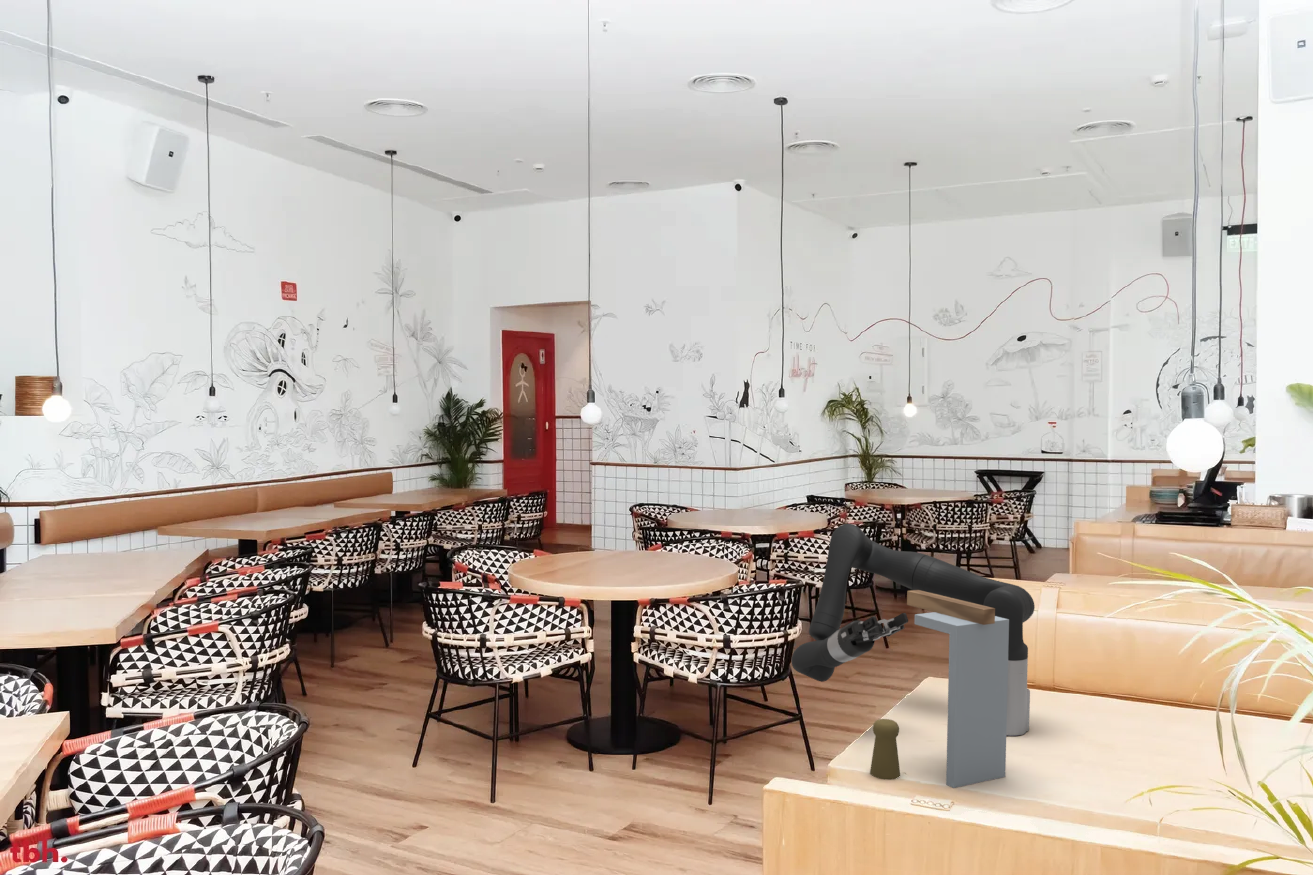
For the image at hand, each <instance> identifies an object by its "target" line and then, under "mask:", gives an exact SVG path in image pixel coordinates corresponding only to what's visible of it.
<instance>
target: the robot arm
mask: <svg viewBox="0 0 1313 875" xmlns="http://www.w3.org/2000/svg"><path fill="white" fill-rule="evenodd" d="M851 568H852V569H856V570H858V571H859V570H860V571H863V572H868V573H870V574H871V573H872V574H873V575H874V574H875V575H879V576H880V577H881V576H882V577H884V578H886V579H887V580H890V581H893V582H894V583H896V584H899V585H900V586H903V587H906V588H908V589H910V590H911V591H912V590H921V591H925V592H929V593H933V594H937V595H941V596H946V597H950V598H954V599H958V600H962V601H966V602H971V603H975V604H979V605H983V606H987V607H991V608H995V616H997V617H1001V618H1005V619H1009V644H1008V686H1007V728H1006V736H1009V737H1010V736H1011V737H1012V736H1022V735H1024V734H1026V733H1027V732H1028V731H1030V715H1031V714H1030V708H1031V706H1030V704H1031V703H1030V702H1031V690H1030V689H1029V688H1028V665H1029V664H1028V661H1029V660H1028V658H1029V647H1028V645H1027V644H1026V643H1025V642H1024V634H1023V633H1024V630H1023V628H1024V623H1025V622H1027V621H1028V620H1029V619H1030V618H1031V617H1032V616H1033V614H1034V612H1035V601H1034V599H1033V597H1032V595H1031V594H1030V593H1029V592H1028V591H1027V590H1026V589H1025V588H1023V587H1022V586H1019V585H1016V584H1013V583H1007V582H1004V581H1000V580H995V579H992V578H987V577H984V576H982V575H979V574H976V573H974V572H971V571H969V570H967V569H964V568H961V567H960V566H958V565H954V564H952V563H949V562H946V561H944V560H941V559H939V558H937V557H934V556H931V555H928V554H926V553H925V554H924V553H921V552H916V551H905V550H904V551H903V550H895V549H893V548H889V547H887V546H884V545H882V544H881V543H877V542H876V541H874V540H872V539H870V537H868V535H866V534H865V532H864V531H863V530H862V529H861V528H860V527H858V526H857V525H856V524H852V523H843V524H841V525H839V526H838V527H837V528H836V529H834V531H833V533H832V534H831V536H830V541H829V546H828V552H827V559H826V565H825V569H824V570H825V571H824V576H823V580H822V585H821V590H820V592H819V596H818V599H817V600H818V601H817V602H816V606H815V609H814V613H813V616H812V618H811V622H810V624H809V629H808V633H809V635H810V636H809V637H812V639H814V640H813V641H808V642H805V643H803V644H801V645H799V646H797V647H796V649H794V651H793V653H792V655H791V658H790V659H791V666H792V668H793V669H794V670H795V672H797V673H800V674H801V675H804V676H806V677H808V678H811V679H812V680H816V681H818V682H822V683H823V682H827V681H828V680H829V679H830V678H831V677H832V676H833V674H834V671H835V668H837V667H839V666H841V665H843V664H845V663H847V662H850V661H852V660H855V659H857V658H859V657H861V656H862V655H864V654H866V653H867V652H869V651H871V650H872V649H873V647H874V645H875V642H876V641H877V640H879V639H881V638H883V637H891V636H893V635H894V634H896V633H898V632H901V631H902V630H904V629H905V628H906V627H905V625H906V624H907V623H909V618H908V615H907V613H906V612H901V614H898V615H896V616H894V617H893V618H890V619H885V618H882V619H880V620H878V619H877V616H870V617H869V618H867V619H866V620H863V621H862V620H853V621H851V622H849V623H847V624H845V625H844V626H843V627H841V624H842V621H843V617H844V614H845V608H846V601H847V600H846V597H847V595H846V594H847V586H848V585H847V584H848V580H849V575H850V571H851ZM882 624H883V626H882Z"/></svg>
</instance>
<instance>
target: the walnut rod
mask: <svg viewBox="0 0 1313 875" xmlns="http://www.w3.org/2000/svg"><path fill="white" fill-rule="evenodd" d="M906 594H907V595H906V596H907V597H906V605H907V606H910V607H914V608H918V609H922V610H925V611H929V612H936V613H940V614H944V615H948V616H952V617H955V618H959V619H963V620H967V621H971V622H975V623H978V624H982V625H987V624H995V608H991V607H987V606H983V605H979V604H975V603H971V602H966V601H962V600H958V599H954V598H950V597H946V596H941V595H937V594H933V593H929V592H925V591H921V590H912V589H911V590H907V593H906Z"/></svg>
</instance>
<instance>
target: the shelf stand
mask: <svg viewBox="0 0 1313 875" xmlns="http://www.w3.org/2000/svg"><path fill="white" fill-rule="evenodd" d="M914 625H917V626H920V627H923V628H926V629H930V630H934V631H938V632H941V633H945V634H949V636H948V637H949V643H948V644H949V645H948V681H947V682H948V683H947V684H948V686H947V689H948V690H947V728H946V729H947V730H946V731H947V733H946V736H947V737H946V778H945V781H946V782H945V784H946V785H945V786H949V787H950V788H953V789H957V788H959V787H960V788H961V787H965V786H969V785H974V784H978V783H984V782H986V781H992V780H996V779H1000V778H1006V769H1007V767H1006V763H1007V760H1006V758H1007V735H1006V728H1007V686H1008V644H1009V619H1005V618H1001V617H997V616H995V624H987V625H982V624H978V623H975V622H971V621H967V620H963V619H959V618H955V617H952V616H948V615H944V614H940V613H936V612H933V611H931V612H926V613H925V612H924V613H917V614H914Z"/></svg>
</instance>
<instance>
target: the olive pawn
mask: <svg viewBox="0 0 1313 875" xmlns="http://www.w3.org/2000/svg"><path fill="white" fill-rule="evenodd" d="M899 727H900V726H899V724H898V723H897V721H895V720H892V719H889V718H888V719H887V718H880V719H876V720H875V721H874V723H873V725H872V731H873V735H874V736H875V738H874V744H873V750H872V757H871V763H870V768H869V774H870V775H871V776H872V777H873V778H876V779H880V780H897V779H898V778H897V777H899V776H900V777H901V769H900V762H899V761H900V760H899V752H898V744H897V737H898V735H899V732H900V728H899ZM900 777H899V778H900ZM896 778H897V779H896Z"/></svg>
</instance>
